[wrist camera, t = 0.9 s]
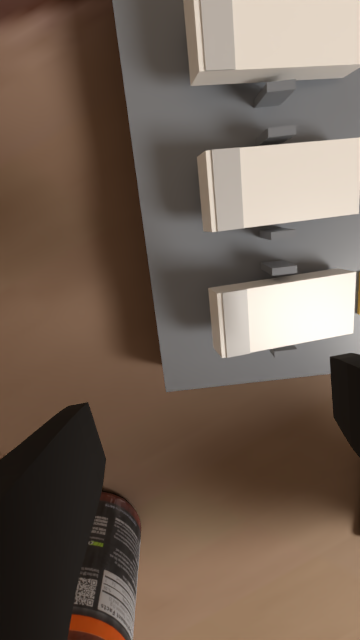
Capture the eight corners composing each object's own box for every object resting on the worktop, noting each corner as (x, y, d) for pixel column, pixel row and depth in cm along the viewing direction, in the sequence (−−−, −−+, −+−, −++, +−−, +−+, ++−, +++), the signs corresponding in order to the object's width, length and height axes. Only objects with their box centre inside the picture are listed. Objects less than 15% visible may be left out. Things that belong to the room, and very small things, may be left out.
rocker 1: (345, -10, 12) (371, -36, 11) (343, 77, 13) (367, 63, 12) (182, -9, 11) (191, -37, 10) (190, 86, 12) (199, 70, 11)
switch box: (394, -48, 14) (499, -171, 10) (370, 343, 20) (431, 382, 15) (116, -14, 14) (90, -121, 10) (166, 366, 20) (165, 411, 15)
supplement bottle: (75, 563, 24) (-2, 844, 13) (40, 500, 22) (-80, 763, 12) (154, 542, 24) (142, 813, 13) (125, 476, 22) (83, 725, 11)
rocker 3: (337, 268, 15) (357, 271, 14) (335, 325, 16) (354, 333, 15) (208, 288, 14) (217, 294, 13) (213, 347, 15) (222, 358, 14)
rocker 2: (341, 144, 14) (363, 136, 12) (339, 214, 14) (360, 213, 13) (196, 157, 13) (206, 150, 11) (203, 231, 13) (212, 232, 12)
